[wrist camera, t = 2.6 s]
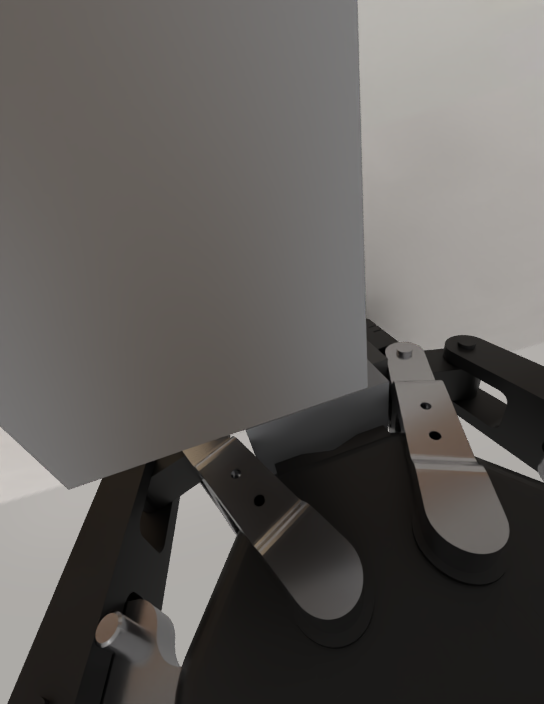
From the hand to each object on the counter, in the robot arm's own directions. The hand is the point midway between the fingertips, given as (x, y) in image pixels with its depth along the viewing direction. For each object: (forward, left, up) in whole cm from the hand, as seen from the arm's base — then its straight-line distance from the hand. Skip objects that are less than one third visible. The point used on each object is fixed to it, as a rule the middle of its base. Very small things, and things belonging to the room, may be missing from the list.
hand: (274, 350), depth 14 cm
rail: (+9, -7, -2) cm, 11 cm away
